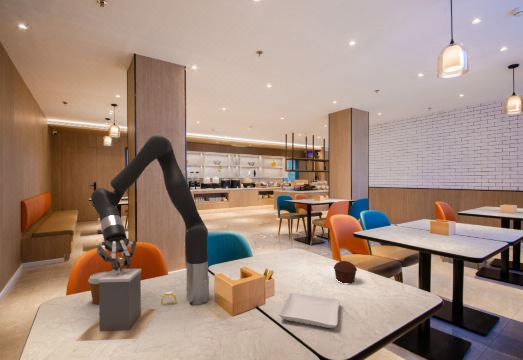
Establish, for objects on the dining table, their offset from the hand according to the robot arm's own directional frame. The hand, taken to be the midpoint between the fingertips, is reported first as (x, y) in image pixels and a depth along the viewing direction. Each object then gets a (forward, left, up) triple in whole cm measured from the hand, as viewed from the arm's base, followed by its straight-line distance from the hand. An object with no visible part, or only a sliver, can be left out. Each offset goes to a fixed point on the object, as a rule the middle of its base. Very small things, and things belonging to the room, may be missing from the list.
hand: (122, 268), depth 95 cm
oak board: (+1, -2, -22) cm, 22 cm away
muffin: (-96, -38, -22) cm, 105 cm away
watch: (-12, -16, -22) cm, 29 cm away
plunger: (+1, -2, -17) cm, 17 cm away
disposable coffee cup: (+18, -21, -22) cm, 35 cm away
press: (+1, -2, -21) cm, 21 cm away
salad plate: (-70, -6, -22) cm, 73 cm away
